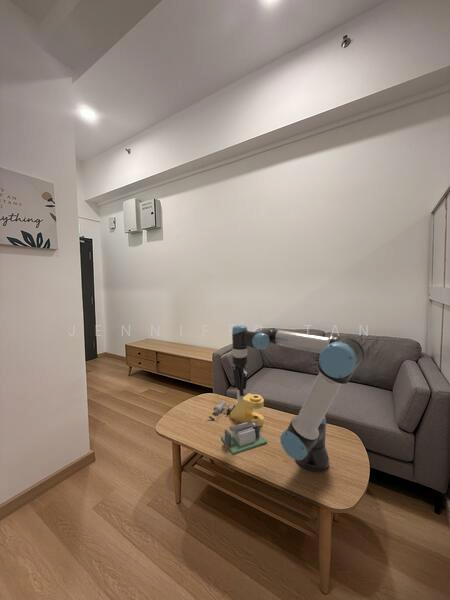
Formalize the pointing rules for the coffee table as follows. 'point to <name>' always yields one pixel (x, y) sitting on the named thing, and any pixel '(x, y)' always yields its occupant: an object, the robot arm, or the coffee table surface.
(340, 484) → the coffee table surface
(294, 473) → the coffee table surface
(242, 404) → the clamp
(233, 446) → the heatsink base
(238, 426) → the strap
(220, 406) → the clip-on lamp
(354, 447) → the coffee table surface
